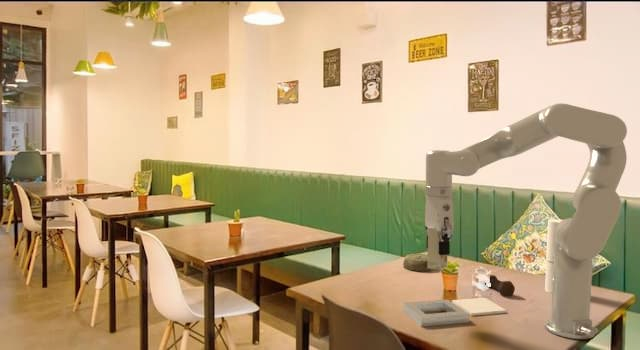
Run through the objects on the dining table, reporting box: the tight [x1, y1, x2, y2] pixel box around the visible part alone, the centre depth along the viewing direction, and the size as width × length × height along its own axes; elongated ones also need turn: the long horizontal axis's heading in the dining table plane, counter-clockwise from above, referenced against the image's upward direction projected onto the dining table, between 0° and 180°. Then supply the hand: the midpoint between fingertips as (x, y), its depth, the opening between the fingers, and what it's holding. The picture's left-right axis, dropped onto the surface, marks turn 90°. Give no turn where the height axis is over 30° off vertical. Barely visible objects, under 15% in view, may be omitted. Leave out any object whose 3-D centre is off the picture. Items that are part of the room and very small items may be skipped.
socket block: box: [402, 298, 470, 327], centre depth 145 cm, size 13×15×2 cm
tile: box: [451, 297, 508, 317], centre depth 153 cm, size 12×12×1 cm
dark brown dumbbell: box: [489, 274, 516, 297], centre depth 172 cm, size 6×5×15 cm
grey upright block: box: [427, 227, 448, 271], centre depth 144 cm, size 6×4×12 cm
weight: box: [402, 253, 433, 272], centre depth 200 cm, size 14×13×5 cm
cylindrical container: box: [544, 218, 563, 294], centre depth 169 cm, size 7×7×25 cm
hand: (437, 251), depth 144 cm, fingers closed on grey upright block, 7 cm apart
